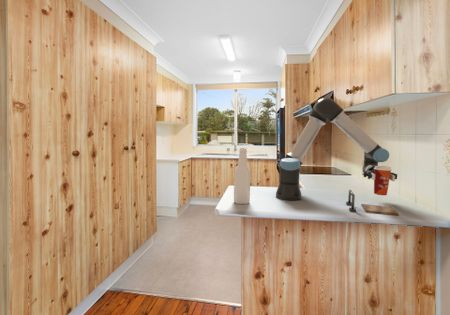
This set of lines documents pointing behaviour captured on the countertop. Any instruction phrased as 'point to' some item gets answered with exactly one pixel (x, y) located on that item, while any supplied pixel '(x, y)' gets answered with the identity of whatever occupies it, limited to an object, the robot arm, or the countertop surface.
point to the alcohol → (242, 179)
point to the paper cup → (381, 179)
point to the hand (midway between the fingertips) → (384, 177)
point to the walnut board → (379, 209)
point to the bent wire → (351, 202)
